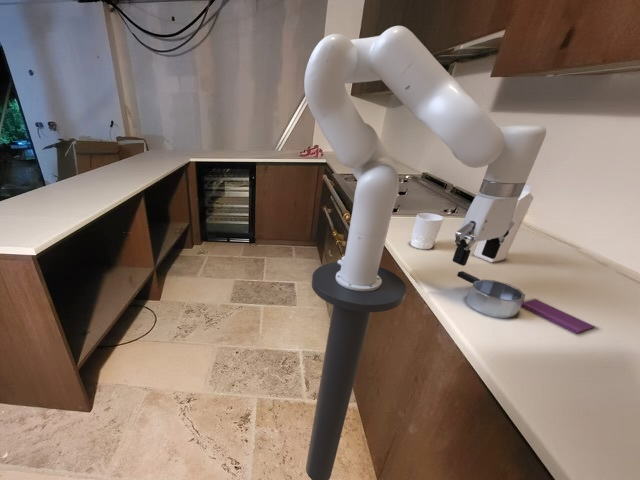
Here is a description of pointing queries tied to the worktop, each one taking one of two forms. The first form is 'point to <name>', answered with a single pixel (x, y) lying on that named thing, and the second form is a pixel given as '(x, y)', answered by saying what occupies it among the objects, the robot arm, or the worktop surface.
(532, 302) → the purple flat block
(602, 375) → the worktop surface
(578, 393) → the worktop surface
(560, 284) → the worktop surface
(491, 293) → the pan
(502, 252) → the milk
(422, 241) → the white cup
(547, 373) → the worktop surface
